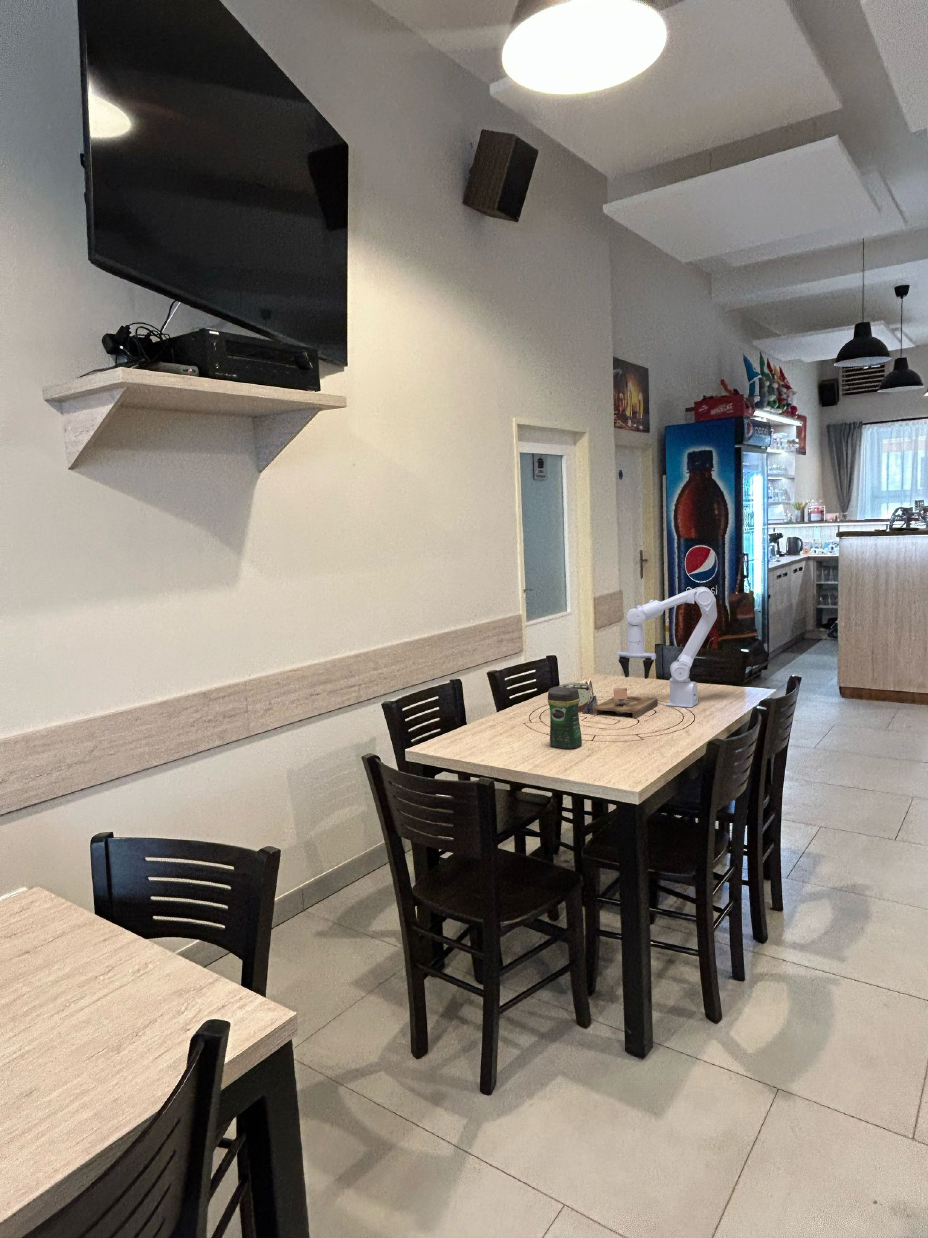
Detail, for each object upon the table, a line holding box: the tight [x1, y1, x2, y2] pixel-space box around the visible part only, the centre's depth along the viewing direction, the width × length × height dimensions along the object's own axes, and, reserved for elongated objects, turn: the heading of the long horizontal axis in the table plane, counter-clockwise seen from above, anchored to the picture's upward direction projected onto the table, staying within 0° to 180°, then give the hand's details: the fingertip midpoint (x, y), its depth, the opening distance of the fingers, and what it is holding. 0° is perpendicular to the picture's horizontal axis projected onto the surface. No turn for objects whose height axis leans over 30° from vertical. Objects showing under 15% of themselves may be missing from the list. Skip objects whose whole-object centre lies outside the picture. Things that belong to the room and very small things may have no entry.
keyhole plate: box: [592, 695, 659, 719], centre depth 287 cm, size 16×20×3 cm
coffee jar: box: [547, 686, 583, 749], centre depth 246 cm, size 10×8×19 cm
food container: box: [557, 682, 592, 714], centre depth 291 cm, size 12×6×10 cm, turn 84°
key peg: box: [613, 687, 629, 715], centre depth 284 cm, size 5×5×8 cm
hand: (636, 677), depth 293 cm, fingers open, 7 cm apart
